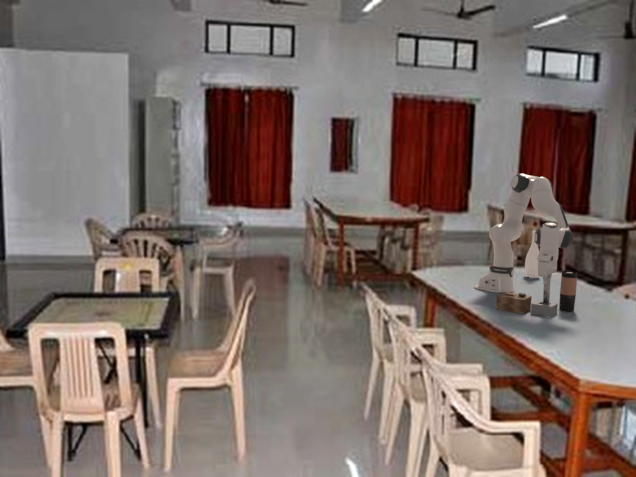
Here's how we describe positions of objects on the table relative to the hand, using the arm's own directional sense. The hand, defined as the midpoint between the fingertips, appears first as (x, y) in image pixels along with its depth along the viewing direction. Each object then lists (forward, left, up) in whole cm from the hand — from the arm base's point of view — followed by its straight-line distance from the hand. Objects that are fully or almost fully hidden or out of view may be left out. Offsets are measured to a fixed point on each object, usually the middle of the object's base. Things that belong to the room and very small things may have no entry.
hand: (546, 283), depth 353 cm
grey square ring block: (0, 0, -15) cm, 15 cm away
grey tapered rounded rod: (0, 0, -10) cm, 10 cm away
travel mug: (+7, +15, -16) cm, 23 cm away
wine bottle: (-37, +96, -16) cm, 104 cm away
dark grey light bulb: (-11, -2, -15) cm, 19 cm away
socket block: (-15, -2, -15) cm, 22 cm away
